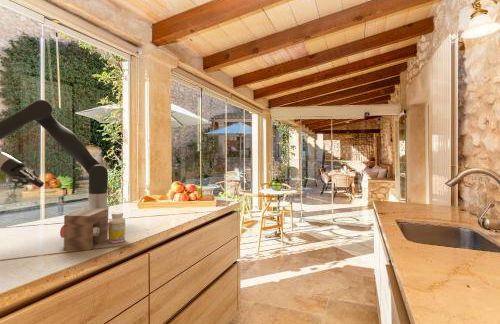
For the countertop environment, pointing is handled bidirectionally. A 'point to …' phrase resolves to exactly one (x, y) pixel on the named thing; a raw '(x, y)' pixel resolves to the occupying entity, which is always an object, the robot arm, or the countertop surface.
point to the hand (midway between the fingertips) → (42, 185)
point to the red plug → (95, 231)
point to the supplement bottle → (117, 228)
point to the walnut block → (85, 228)
